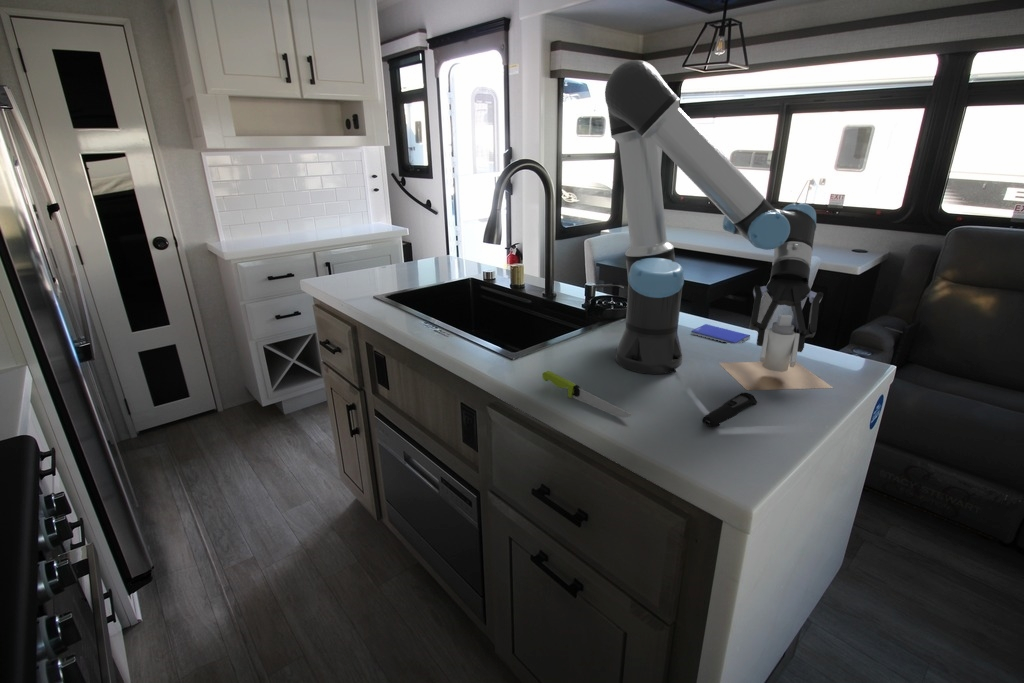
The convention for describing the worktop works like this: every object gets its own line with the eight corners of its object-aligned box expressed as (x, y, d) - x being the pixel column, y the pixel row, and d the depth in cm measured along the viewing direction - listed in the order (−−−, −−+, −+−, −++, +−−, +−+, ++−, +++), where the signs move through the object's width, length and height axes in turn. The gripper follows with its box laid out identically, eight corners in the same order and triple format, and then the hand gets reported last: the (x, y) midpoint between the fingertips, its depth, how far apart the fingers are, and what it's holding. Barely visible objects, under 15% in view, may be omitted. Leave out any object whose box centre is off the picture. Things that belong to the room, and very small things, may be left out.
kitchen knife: (632, 426, 95) (634, 413, 93) (628, 429, 94) (630, 415, 93) (545, 381, 109) (546, 369, 108) (541, 383, 108) (542, 370, 107)
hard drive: (691, 330, 138) (736, 342, 129) (706, 323, 143) (750, 334, 134) (690, 335, 138) (735, 347, 130) (705, 328, 143) (749, 339, 135)
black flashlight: (694, 427, 93) (696, 411, 92) (740, 401, 102) (742, 386, 101) (713, 435, 90) (715, 420, 89) (758, 408, 99) (761, 393, 98)
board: (745, 394, 104) (746, 389, 104) (717, 366, 117) (718, 362, 117) (832, 392, 104) (833, 387, 104) (794, 365, 117) (795, 361, 117)
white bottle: (769, 371, 106) (779, 319, 102) (757, 362, 111) (767, 312, 107) (792, 371, 106) (804, 319, 102) (780, 362, 111) (790, 311, 107)
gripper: (748, 253, 113) (731, 347, 105) (842, 261, 106) (832, 362, 98) (745, 272, 119) (729, 361, 111) (833, 280, 112) (823, 377, 104)
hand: (777, 361), depth 105 cm, fingers closed on white bottle, 5 cm apart
